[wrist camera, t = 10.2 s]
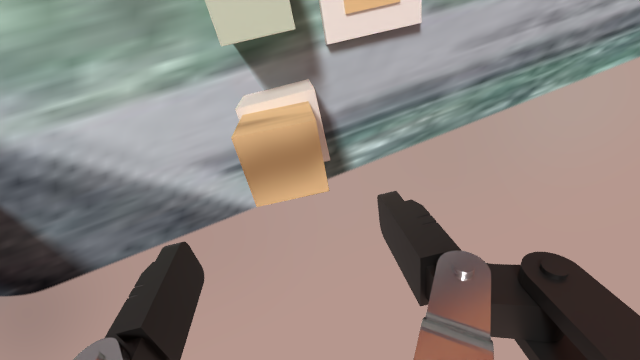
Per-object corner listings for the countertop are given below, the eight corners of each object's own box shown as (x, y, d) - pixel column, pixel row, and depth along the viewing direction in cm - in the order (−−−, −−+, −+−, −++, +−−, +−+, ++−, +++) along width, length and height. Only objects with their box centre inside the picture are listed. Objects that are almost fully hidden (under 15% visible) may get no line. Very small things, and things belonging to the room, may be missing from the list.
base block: (322, 139, 26) (330, 160, 22) (265, 154, 26) (261, 178, 22) (308, 78, 23) (314, 88, 19) (243, 95, 23) (235, 108, 19)
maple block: (319, 160, 22) (329, 191, 18) (261, 172, 22) (256, 207, 18) (308, 101, 20) (315, 119, 15) (242, 114, 19) (231, 137, 15)
